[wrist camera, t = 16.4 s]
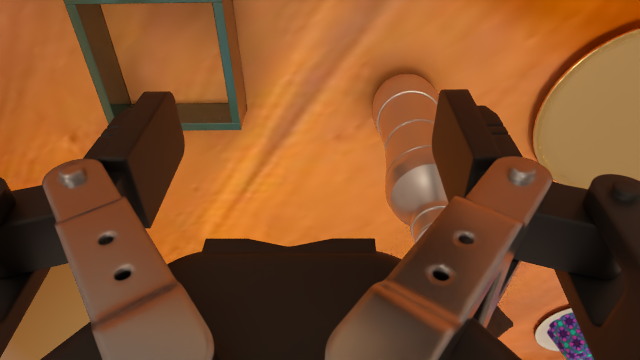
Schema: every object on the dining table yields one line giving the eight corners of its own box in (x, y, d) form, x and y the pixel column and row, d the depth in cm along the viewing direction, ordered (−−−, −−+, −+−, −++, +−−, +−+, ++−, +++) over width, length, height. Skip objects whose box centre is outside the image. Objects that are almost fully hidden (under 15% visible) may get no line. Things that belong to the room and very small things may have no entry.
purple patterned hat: (631, 324, 67) (650, 357, 63) (557, 355, 73) (571, 386, 69) (593, 290, 62) (612, 322, 58) (518, 325, 68) (530, 357, 64)
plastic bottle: (378, 132, 47) (403, 284, 31) (362, 75, 43) (383, 216, 27) (439, 117, 45) (498, 267, 30) (429, 57, 41) (491, 193, 26)
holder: (83, -20, 38) (60, -6, 35) (229, -22, 37) (220, -9, 34) (125, 110, 46) (110, 131, 42) (247, 109, 45) (241, 130, 42)
